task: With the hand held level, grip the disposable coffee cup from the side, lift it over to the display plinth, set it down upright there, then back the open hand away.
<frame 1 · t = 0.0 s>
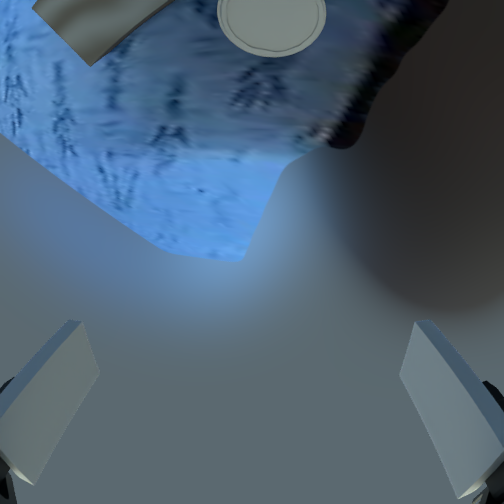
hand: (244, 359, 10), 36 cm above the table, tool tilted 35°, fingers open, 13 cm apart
disposable coffee cup: (267, 1, 26), on the table
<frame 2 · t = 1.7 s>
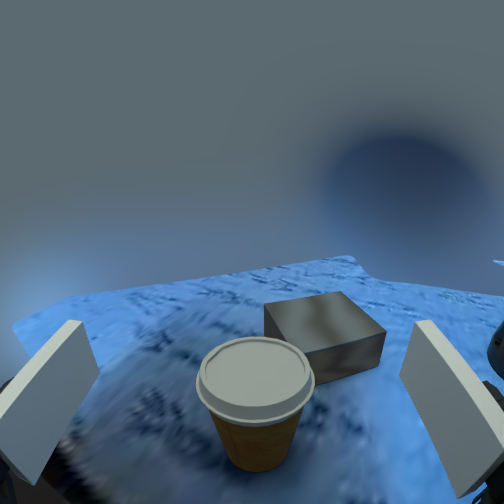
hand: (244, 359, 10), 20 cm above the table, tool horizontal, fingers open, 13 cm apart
disposable coffee cup: (257, 449, 26), on the table
display plinth: (318, 351, 42), on the table
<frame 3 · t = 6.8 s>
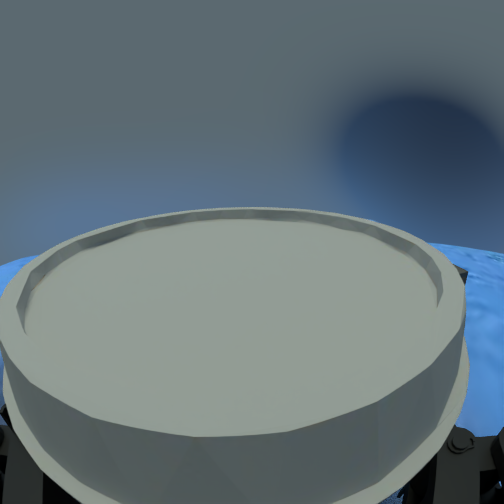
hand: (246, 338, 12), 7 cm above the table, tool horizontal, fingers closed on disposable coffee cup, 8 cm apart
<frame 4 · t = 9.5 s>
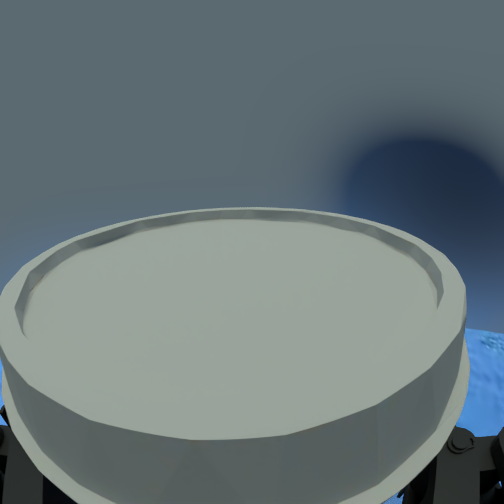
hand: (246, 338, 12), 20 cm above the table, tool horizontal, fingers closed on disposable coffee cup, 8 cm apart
when the fingers open (14 cm above the table, at t = 12.4 s): disposable coffee cup drops 1 cm, resting on display plinth.
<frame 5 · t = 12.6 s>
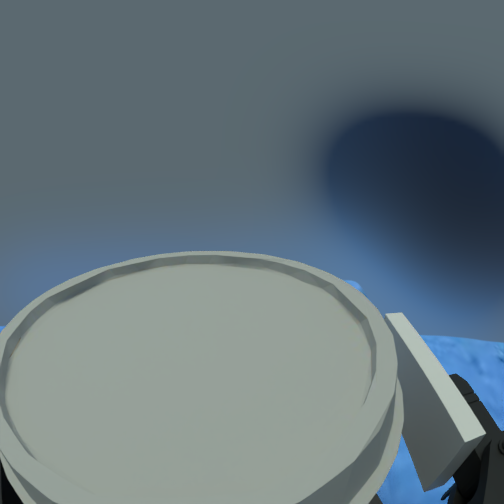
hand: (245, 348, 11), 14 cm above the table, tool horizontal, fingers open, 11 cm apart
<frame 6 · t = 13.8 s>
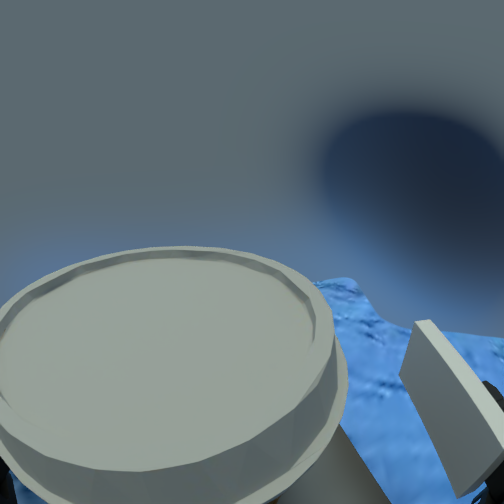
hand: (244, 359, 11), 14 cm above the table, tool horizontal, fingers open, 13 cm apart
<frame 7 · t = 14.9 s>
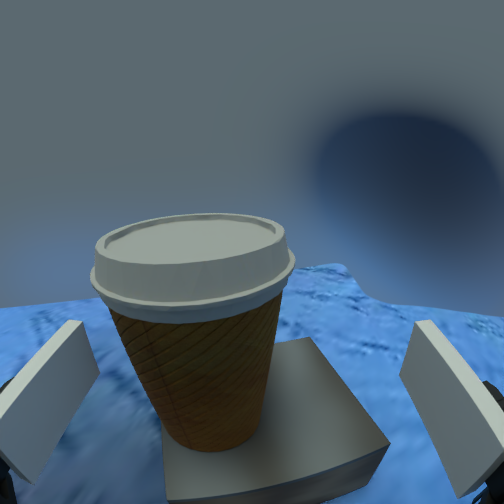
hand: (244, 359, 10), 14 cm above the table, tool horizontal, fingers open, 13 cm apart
disposable coffee cup: (211, 417, 17), point 6 cm above the table, touching display plinth
display plinth: (258, 449, 20), on the table
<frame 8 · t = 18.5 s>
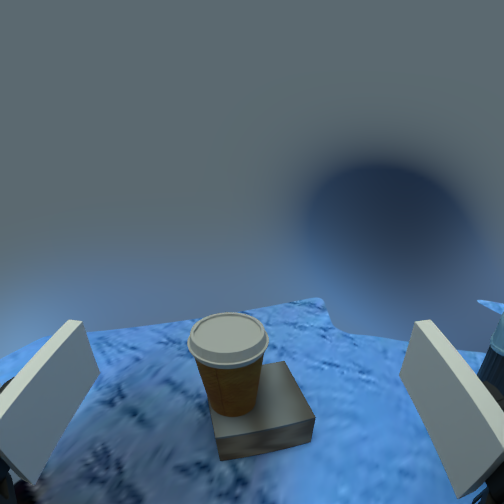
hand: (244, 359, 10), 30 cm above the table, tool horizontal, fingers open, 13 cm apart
disposable coffee cup: (232, 401, 37), point 6 cm above the table, touching display plinth
display plinth: (255, 421, 40), on the table
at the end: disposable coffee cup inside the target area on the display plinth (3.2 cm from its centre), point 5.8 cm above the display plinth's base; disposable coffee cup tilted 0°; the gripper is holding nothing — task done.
